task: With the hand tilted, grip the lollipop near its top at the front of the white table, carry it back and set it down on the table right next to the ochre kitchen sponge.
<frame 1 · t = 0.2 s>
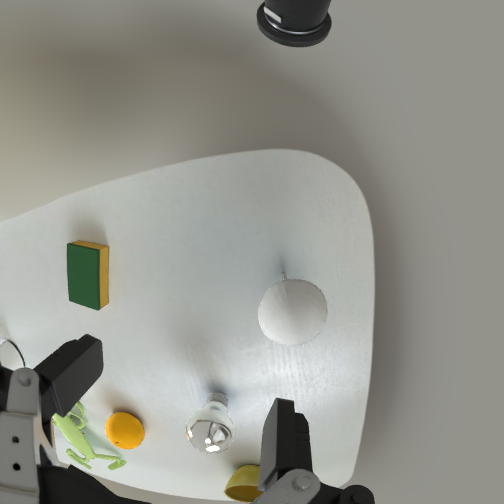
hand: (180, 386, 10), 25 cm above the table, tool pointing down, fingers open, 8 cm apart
lollipop: (283, 274, 35), on the table
light bulb: (218, 394, 39), on the table
orange: (131, 419, 42), on the table
sponge: (93, 271, 36), on the table
figurine: (83, 432, 46), on the table
flower pot: (251, 469, 44), on the table
mug: (13, 352, 42), on the table
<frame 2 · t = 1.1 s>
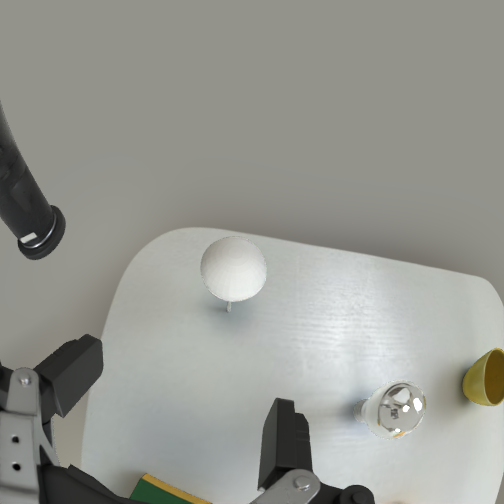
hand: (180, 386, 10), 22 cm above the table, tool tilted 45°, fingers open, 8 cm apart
lollipop: (228, 310, 35), on the table
light bulb: (359, 410, 29), on the table
flower pot: (468, 384, 31), on the table
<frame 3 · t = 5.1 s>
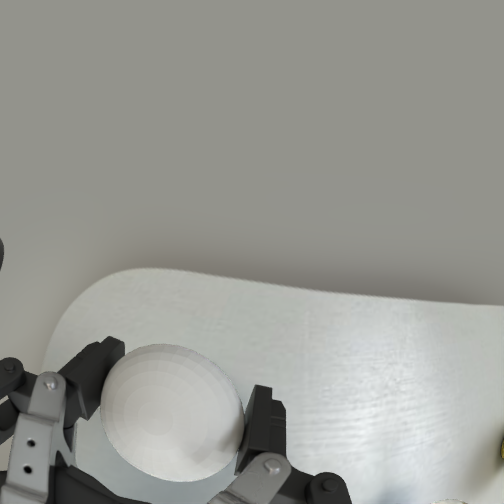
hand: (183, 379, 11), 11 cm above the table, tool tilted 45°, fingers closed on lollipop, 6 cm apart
lollipop: (196, 407, 20), on the table, touching gripper
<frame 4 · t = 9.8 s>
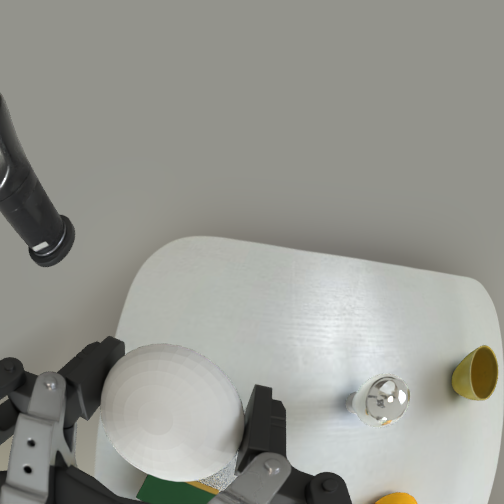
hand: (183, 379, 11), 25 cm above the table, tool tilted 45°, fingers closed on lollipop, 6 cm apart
lollipop: (196, 406, 20), point 14 cm above the table, touching gripper
light bulb: (351, 403, 33), on the table
sponge: (179, 492, 24), on the table
flower pot: (458, 380, 35), on the table
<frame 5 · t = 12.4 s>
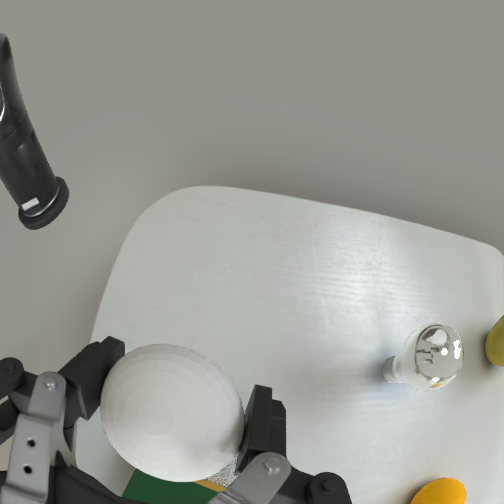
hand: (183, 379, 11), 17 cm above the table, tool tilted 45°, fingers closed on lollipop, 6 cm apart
lollipop: (196, 407, 20), point 5 cm above the table, touching gripper
light bulb: (387, 371, 28), on the table
orange: (421, 499, 17), on the table
sponge: (177, 491, 18), on the table
flower pot: (490, 349, 29), on the table
when the fingers open (11 cm above the table, at t = 14.5 s): lollipop stays where it is, on the table.
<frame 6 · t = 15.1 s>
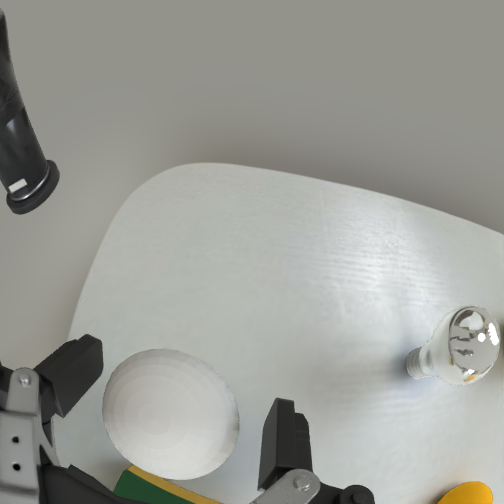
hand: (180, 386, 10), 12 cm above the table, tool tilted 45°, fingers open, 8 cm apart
lollipop: (196, 408, 20), on the table
light bulb: (409, 366, 23), on the table
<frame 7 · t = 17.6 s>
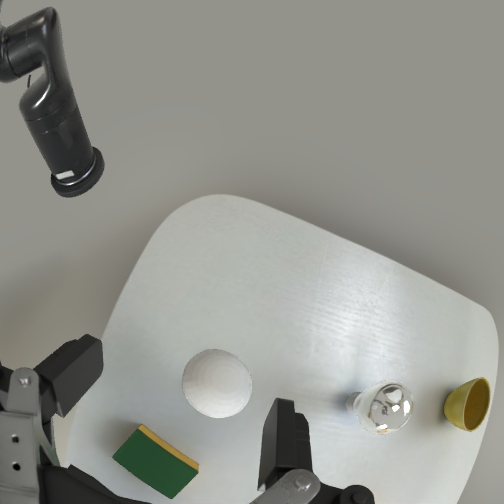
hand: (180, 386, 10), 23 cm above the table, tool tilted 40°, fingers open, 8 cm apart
lollipop: (192, 394, 30), on the table
light bulb: (350, 401, 33), on the table
sponge: (157, 458, 25), on the table
flower pot: (450, 405, 34), on the table
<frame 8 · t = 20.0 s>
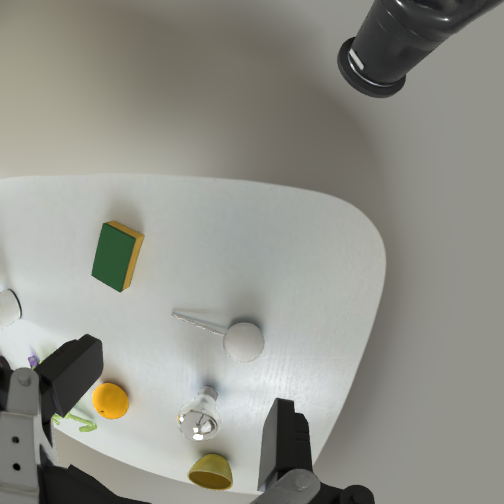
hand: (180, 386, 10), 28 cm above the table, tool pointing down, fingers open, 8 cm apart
lollipop: (171, 313, 40), on the table
light bulb: (210, 388, 44), on the table
orange: (117, 391, 47), on the table
sponge: (121, 253, 39), on the table
figurine: (63, 391, 50), on the table
bottle: (5, 363, 53), on the table
flower pot: (215, 458, 49), on the table
mug: (11, 300, 46), on the table
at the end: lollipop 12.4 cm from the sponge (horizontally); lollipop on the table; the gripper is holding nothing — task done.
